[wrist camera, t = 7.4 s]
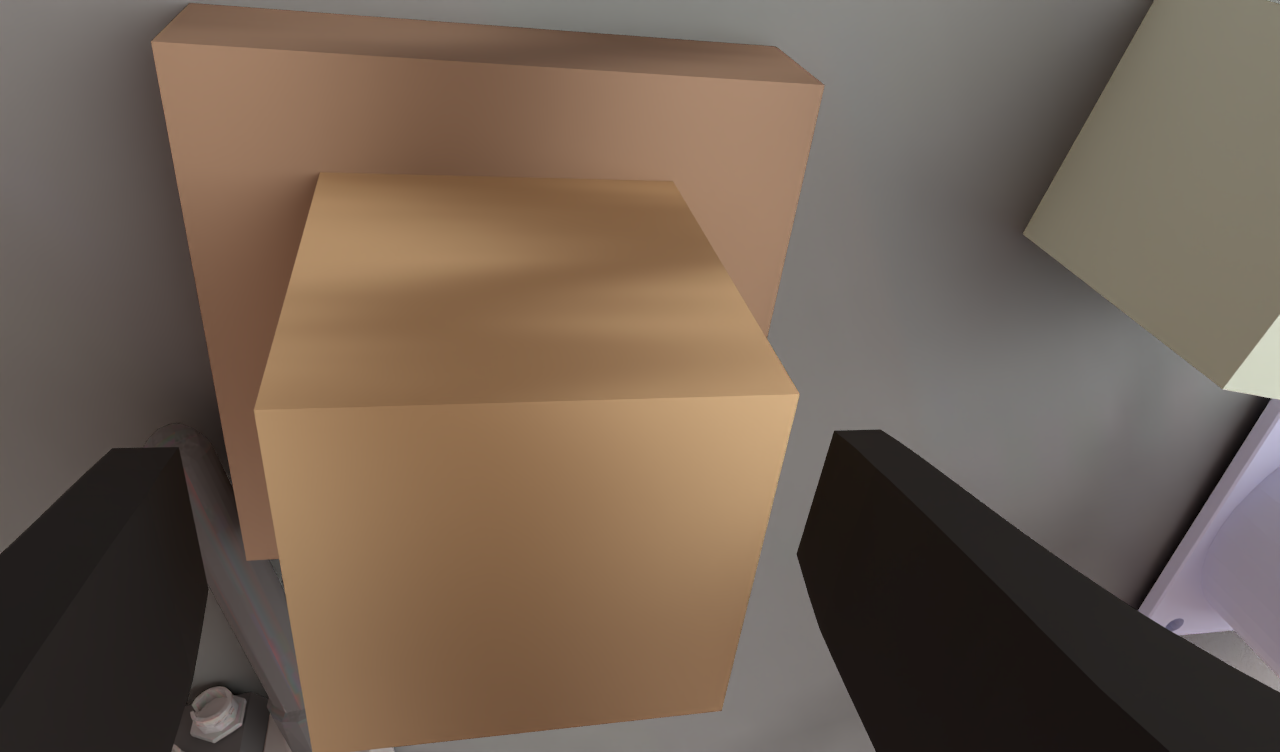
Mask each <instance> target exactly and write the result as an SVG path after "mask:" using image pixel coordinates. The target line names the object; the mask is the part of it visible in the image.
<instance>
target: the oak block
mask: <svg viewBox="0 0 1280 752" xmlns="http://www.w3.org/2000/svg"><path fill="white" fill-rule="evenodd" d="M799 395H800V394H799V392H798V391H797V389H796V387H795V385H794V384H793V382H792V380H791V379H790V377H789V375H788V374H787V372H786V370H785V369H784V367H783V365H782V364H781V362H780V360H779V359H778V357H777V355H776V354H775V352H774V350H773V348H772V347H771V345H770V343H769V342H768V340H767V338H766V337H765V335H764V333H763V332H762V330H761V328H760V327H759V325H758V323H757V322H756V320H755V318H754V317H753V315H752V313H751V311H750V310H749V308H748V306H747V305H746V303H745V301H744V300H743V298H742V296H741V295H740V293H739V291H738V290H737V288H736V286H735V285H734V283H733V281H732V280H731V278H730V276H729V274H728V273H727V271H726V269H725V268H724V266H723V264H722V263H721V261H720V259H719V258H718V256H717V254H716V253H715V251H714V249H713V248H712V246H711V244H710V243H709V241H708V239H707V237H706V236H705V234H704V232H703V231H702V229H701V227H700V226H699V224H698V222H697V221H696V219H695V217H694V216H693V214H692V212H691V211H690V209H689V207H688V206H687V204H686V202H685V200H684V199H683V197H682V195H681V194H680V192H679V190H678V189H677V187H676V185H675V184H674V182H673V181H644V180H606V179H568V178H528V177H488V176H448V175H408V174H368V173H327V172H320V174H319V178H318V181H317V185H316V188H315V192H314V196H313V199H312V203H311V206H310V210H309V214H308V217H307V221H306V224H305V228H304V232H303V235H302V239H301V242H300V246H299V249H298V253H297V257H296V260H295V264H294V267H293V271H292V275H291V278H290V282H289V285H288V289H287V293H286V296H285V300H284V303H283V307H282V311H281V314H280V318H279V321H278V325H277V328H276V332H275V336H274V339H273V343H272V346H271V350H270V354H269V357H268V361H267V364H266V368H265V372H264V375H263V379H262V382H261V386H260V390H259V393H258V397H257V400H256V404H255V408H254V414H255V420H256V426H257V432H258V438H259V443H260V449H261V455H262V461H263V467H264V473H265V478H266V484H267V490H268V496H269V502H270V508H271V513H272V519H273V525H274V531H275V537H276V543H277V548H278V554H279V560H280V566H281V572H282V578H283V583H284V589H285V595H286V601H287V607H288V613H289V618H290V624H291V630H292V636H293V642H294V648H295V653H296V659H297V665H298V671H299V677H300V683H301V688H302V694H303V700H304V706H305V712H306V718H307V723H308V729H309V735H310V741H311V747H312V752H354V751H363V750H372V749H381V748H390V747H399V746H408V745H417V744H426V743H435V742H444V741H453V740H462V739H471V738H480V737H490V736H499V735H508V734H517V733H526V732H535V731H544V730H553V729H562V728H571V727H580V726H589V725H598V724H607V723H616V722H625V721H634V720H643V719H652V718H661V717H670V716H679V715H688V714H697V713H706V712H715V711H722V707H723V703H724V699H725V695H726V690H727V686H728V682H729V678H730V674H731V670H732V666H733V662H734V658H735V654H736V650H737V646H738V642H739V638H740V634H741V630H742V626H743V622H744V618H745V614H746V609H747V605H748V601H749V597H750V593H751V589H752V585H753V581H754V577H755V573H756V569H757V565H758V561H759V557H760V553H761V549H762V545H763V541H764V537H765V533H766V529H767V524H768V520H769V516H770V512H771V508H772V504H773V500H774V496H775V492H776V488H777V484H778V480H779V476H780V472H781V468H782V464H783V460H784V456H785V452H786V448H787V444H788V439H789V435H790V431H791V427H792V423H793V419H794V415H795V411H796V407H797V403H798V399H799Z"/></svg>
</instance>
